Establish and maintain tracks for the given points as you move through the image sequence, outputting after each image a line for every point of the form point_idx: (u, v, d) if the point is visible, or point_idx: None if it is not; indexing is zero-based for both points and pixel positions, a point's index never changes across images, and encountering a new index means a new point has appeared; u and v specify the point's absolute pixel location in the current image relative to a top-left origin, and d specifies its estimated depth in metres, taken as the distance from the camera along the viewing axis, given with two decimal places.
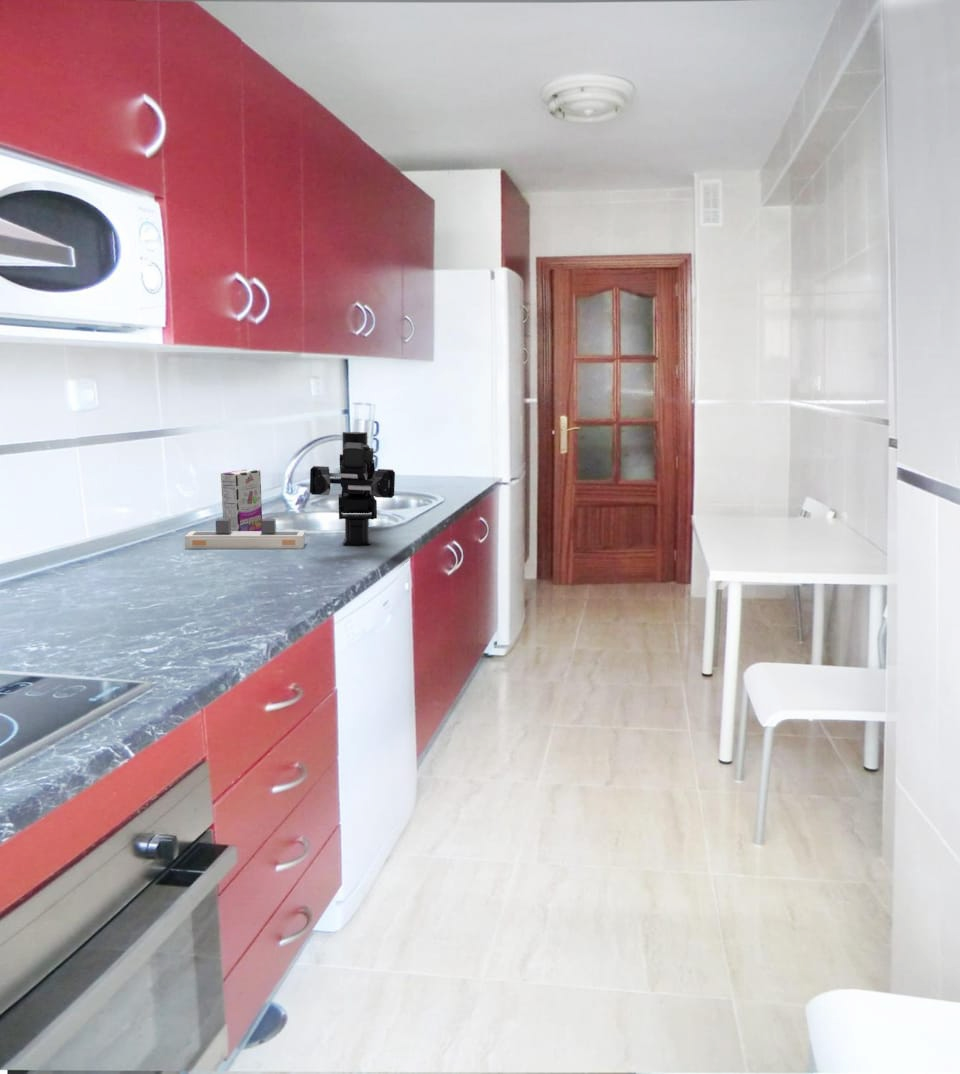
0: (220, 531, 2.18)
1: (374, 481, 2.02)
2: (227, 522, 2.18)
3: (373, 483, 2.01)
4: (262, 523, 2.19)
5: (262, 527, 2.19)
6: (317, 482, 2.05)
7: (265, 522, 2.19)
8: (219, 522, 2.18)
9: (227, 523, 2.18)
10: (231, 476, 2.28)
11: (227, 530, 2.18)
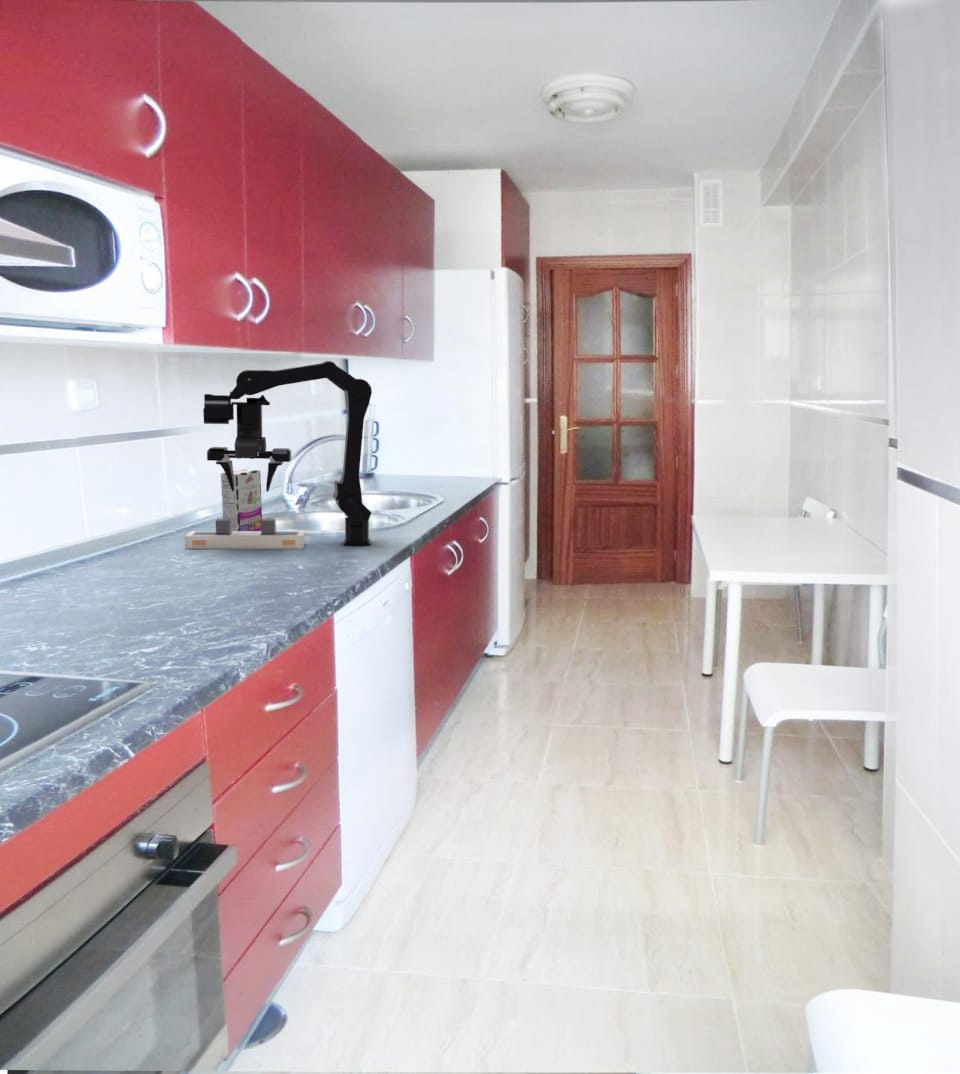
0: (220, 531, 2.18)
1: (268, 479, 2.17)
2: (227, 522, 2.18)
3: (267, 485, 2.18)
4: (262, 523, 2.19)
5: (262, 527, 2.19)
6: None
7: (265, 522, 2.19)
8: (219, 522, 2.18)
9: (227, 523, 2.18)
10: None
11: (227, 530, 2.18)
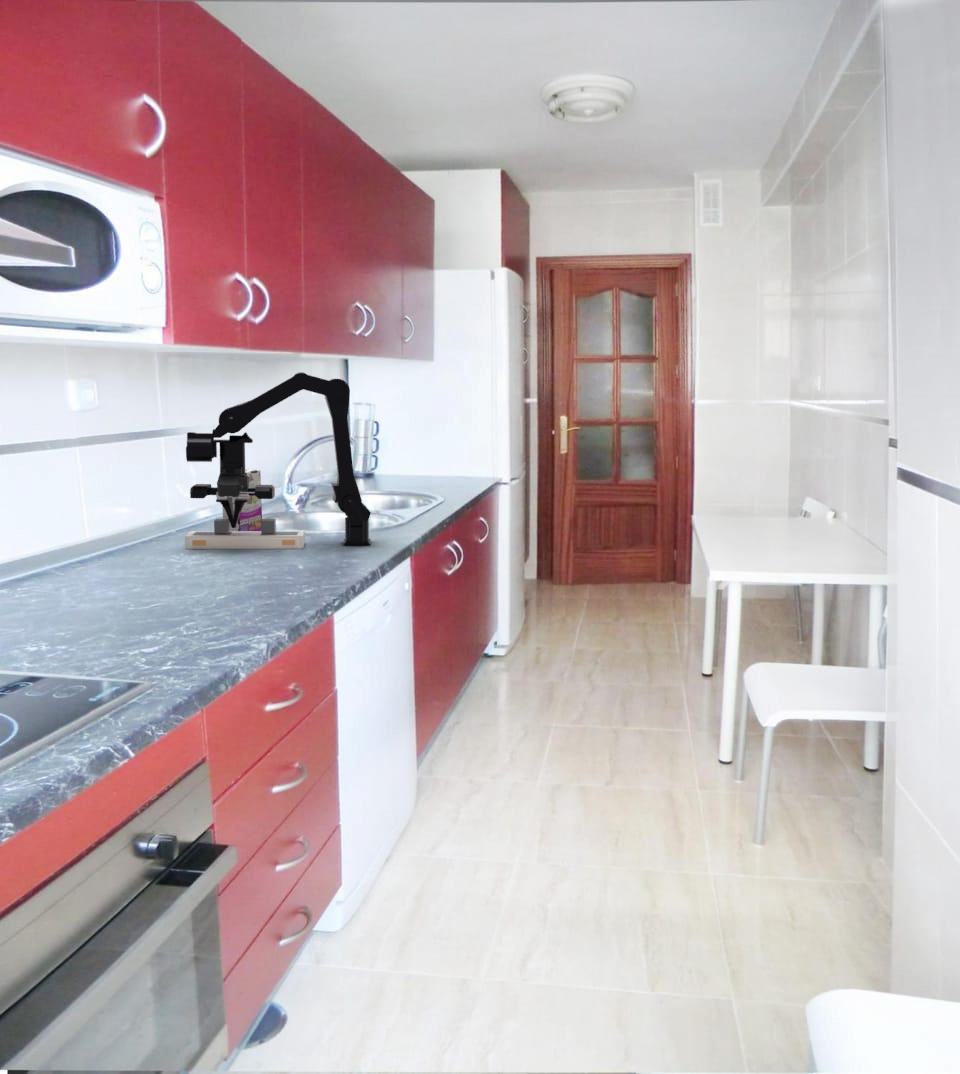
0: (218, 531, 2.18)
1: (235, 516, 2.18)
2: (225, 522, 2.18)
3: (234, 522, 2.19)
4: (262, 523, 2.19)
5: (262, 527, 2.19)
6: None
7: (265, 522, 2.19)
8: (217, 522, 2.18)
9: (225, 523, 2.18)
10: None
11: (225, 530, 2.18)
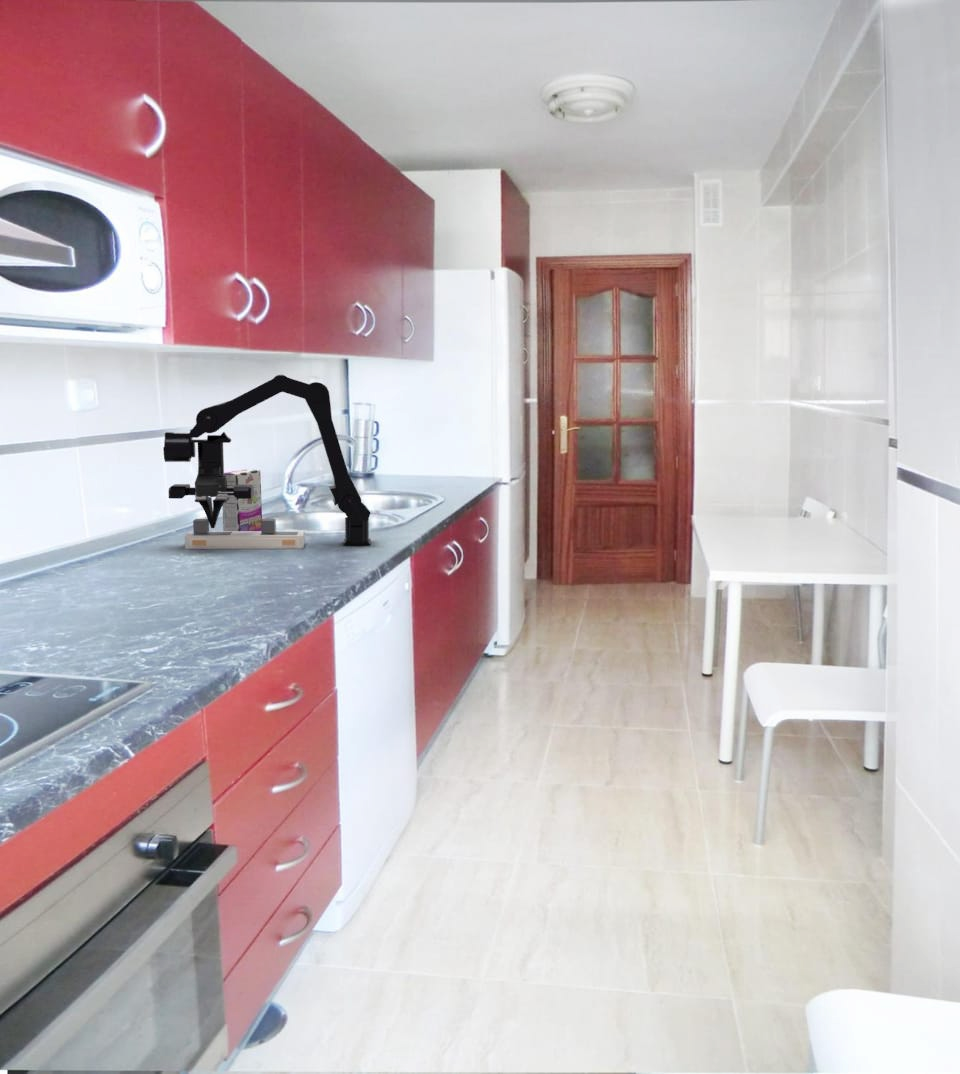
0: (198, 531, 2.17)
1: (214, 516, 2.18)
2: (205, 522, 2.17)
3: (213, 522, 2.18)
4: (262, 523, 2.19)
5: (262, 527, 2.19)
6: None
7: (265, 522, 2.19)
8: (197, 522, 2.17)
9: (205, 523, 2.17)
10: (231, 476, 2.28)
11: (205, 530, 2.18)
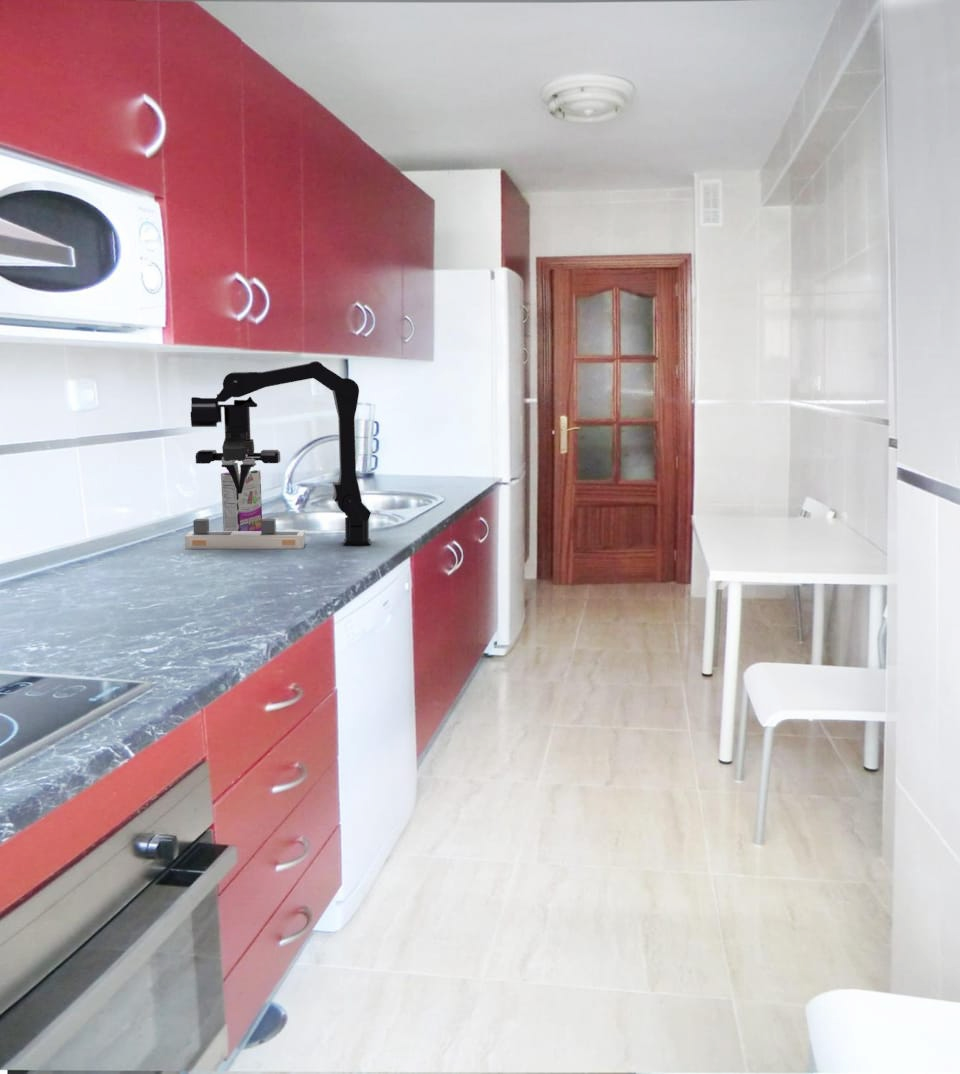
0: (198, 531, 2.17)
1: (241, 481, 2.17)
2: (205, 522, 2.17)
3: (240, 487, 2.18)
4: (262, 523, 2.19)
5: (262, 527, 2.19)
6: None
7: (265, 522, 2.19)
8: (197, 522, 2.17)
9: (205, 523, 2.17)
10: None
11: (205, 530, 2.18)
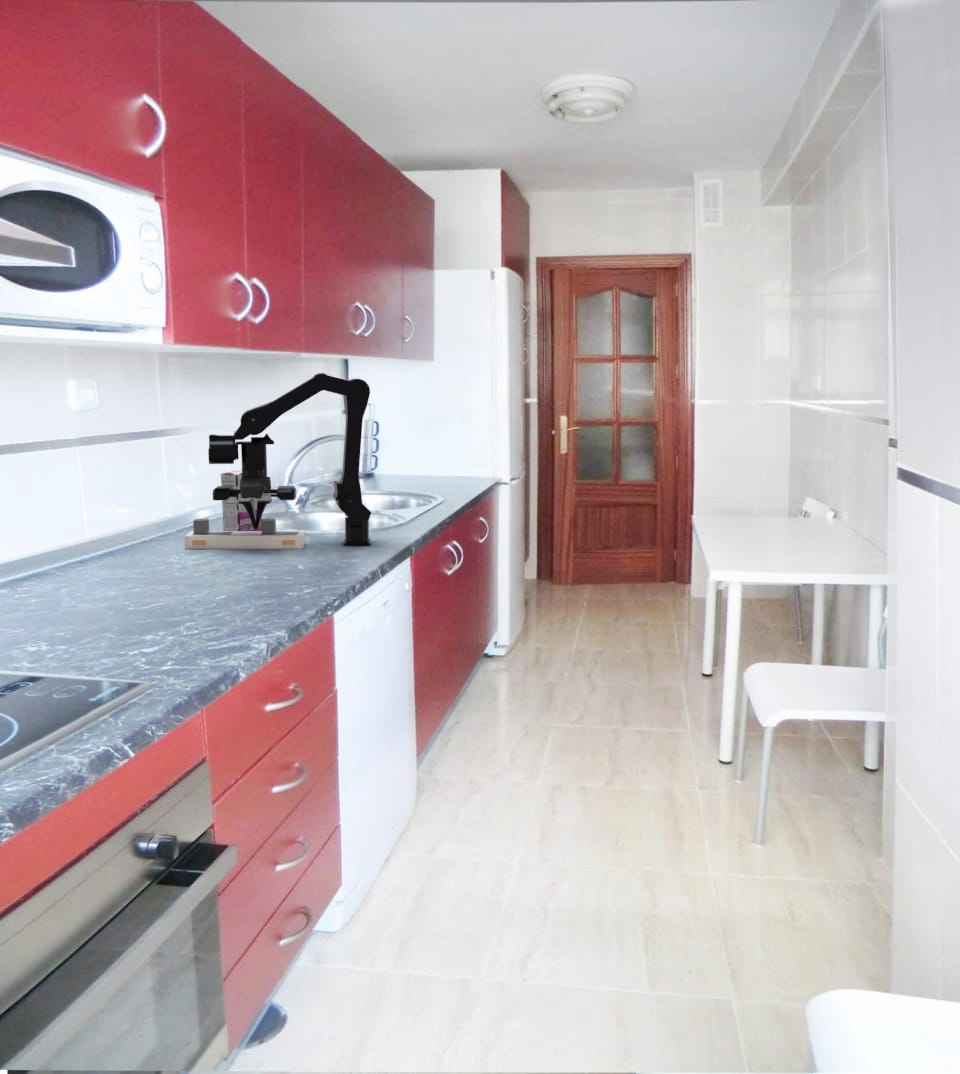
0: (198, 531, 2.17)
1: (257, 517, 2.19)
2: (205, 522, 2.17)
3: (257, 523, 2.19)
4: (262, 523, 2.19)
5: (262, 527, 2.19)
6: None
7: (265, 522, 2.19)
8: (197, 522, 2.17)
9: (205, 523, 2.17)
10: (231, 476, 2.28)
11: (205, 530, 2.18)
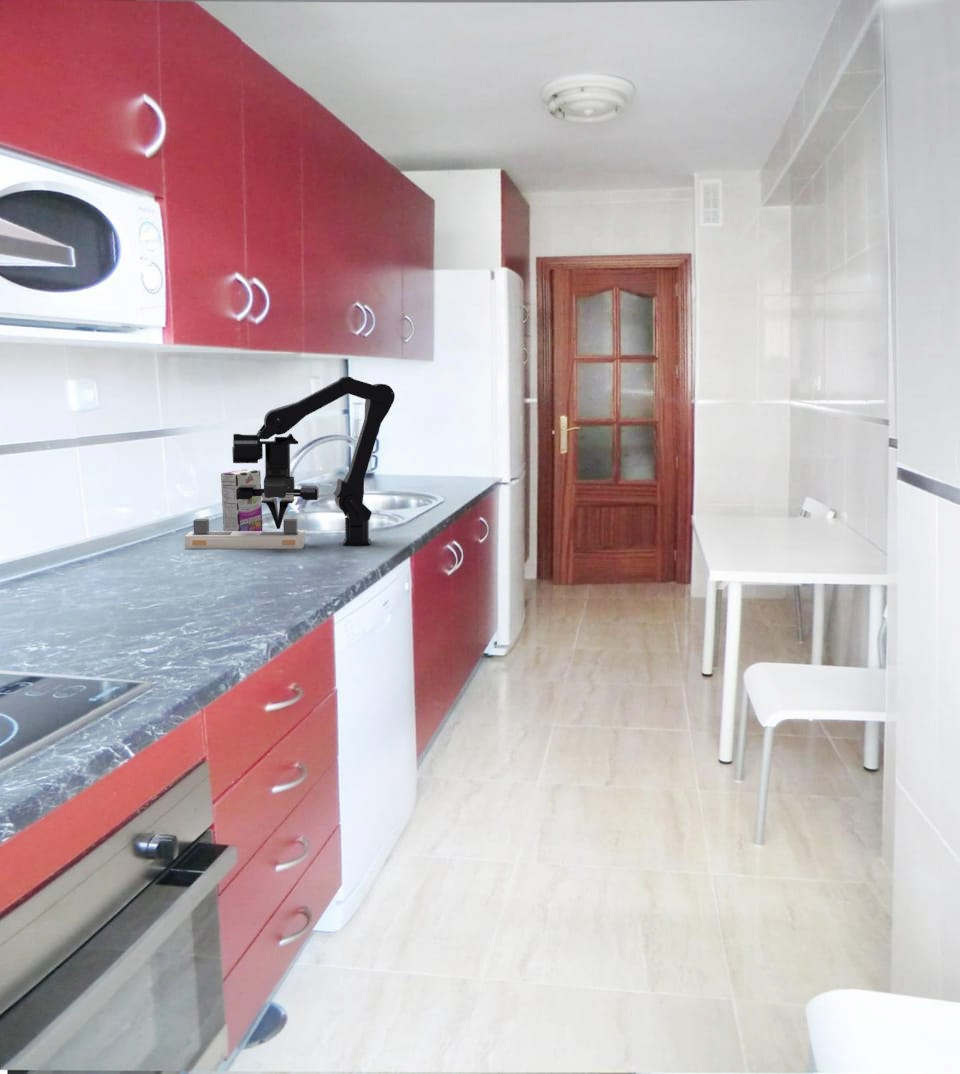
0: (198, 531, 2.17)
1: (280, 517, 2.19)
2: (205, 522, 2.17)
3: (279, 523, 2.20)
4: (284, 523, 2.19)
5: (284, 527, 2.19)
6: None
7: (287, 522, 2.19)
8: (197, 522, 2.17)
9: (205, 523, 2.17)
10: (231, 476, 2.28)
11: (205, 530, 2.18)
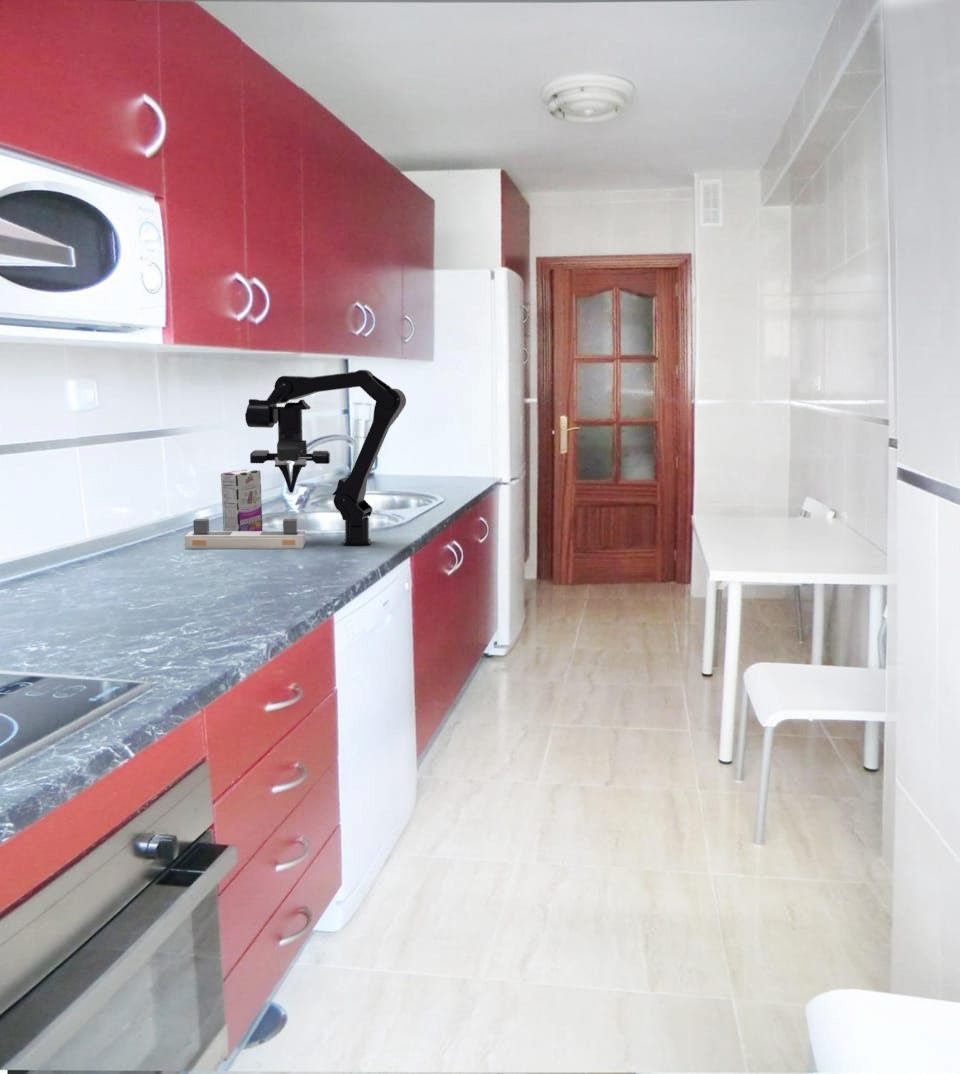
0: (198, 531, 2.17)
1: (293, 480, 2.26)
2: (205, 522, 2.17)
3: (292, 486, 2.26)
4: (284, 523, 2.19)
5: (284, 527, 2.19)
6: None
7: (287, 522, 2.19)
8: (197, 522, 2.17)
9: (205, 523, 2.17)
10: (231, 476, 2.28)
11: (205, 530, 2.18)
